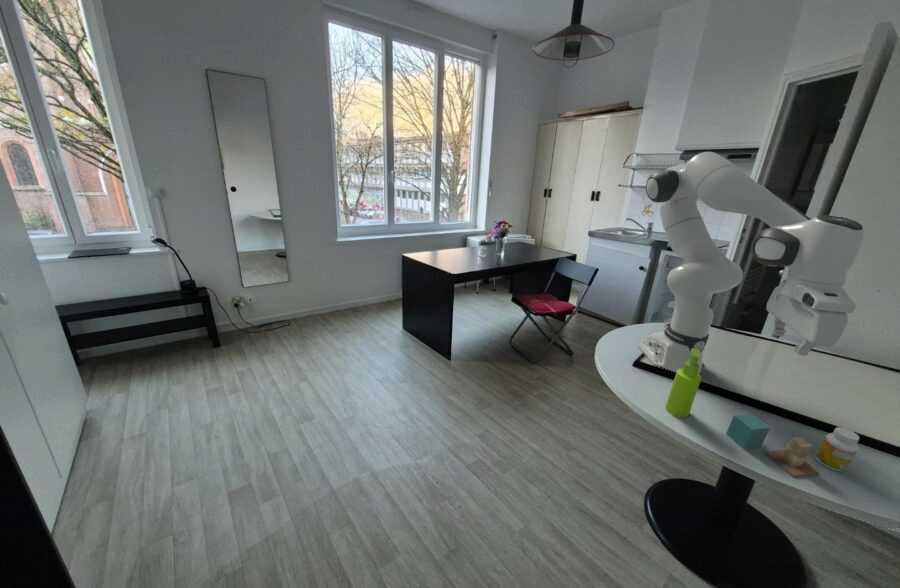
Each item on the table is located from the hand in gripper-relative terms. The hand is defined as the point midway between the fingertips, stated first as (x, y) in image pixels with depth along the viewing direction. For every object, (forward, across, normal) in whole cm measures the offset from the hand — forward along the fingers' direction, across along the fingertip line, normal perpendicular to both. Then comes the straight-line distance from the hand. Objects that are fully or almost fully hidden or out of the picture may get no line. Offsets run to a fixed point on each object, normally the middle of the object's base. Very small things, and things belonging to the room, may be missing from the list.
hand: (788, 344), depth 82 cm
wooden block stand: (+29, +7, +6) cm, 31 cm away
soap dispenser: (+29, -6, -16) cm, 34 cm away
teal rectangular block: (+29, +2, -2) cm, 29 cm away
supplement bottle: (+29, +4, +15) cm, 33 cm away
